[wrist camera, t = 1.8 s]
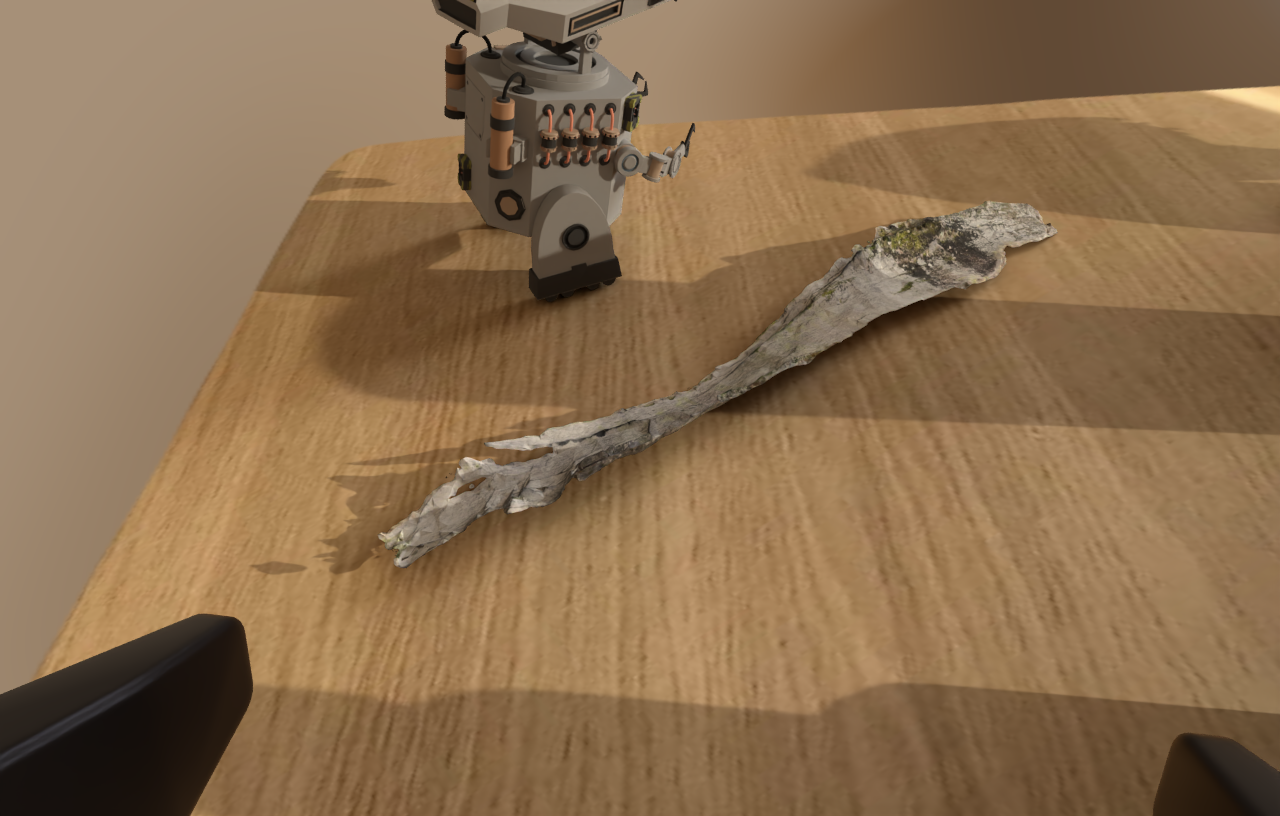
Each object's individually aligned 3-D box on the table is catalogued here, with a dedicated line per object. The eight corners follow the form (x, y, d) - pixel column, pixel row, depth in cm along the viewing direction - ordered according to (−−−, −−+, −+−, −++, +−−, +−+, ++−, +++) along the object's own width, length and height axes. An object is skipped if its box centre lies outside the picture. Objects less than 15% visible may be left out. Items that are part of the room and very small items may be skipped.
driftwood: (1083, 239, 45) (998, 210, 48) (1094, 192, 43) (1005, 165, 47) (425, 612, 29) (365, 529, 32) (406, 558, 27) (345, 478, 31)
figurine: (725, 255, 45) (739, -75, 34) (508, 317, 41) (452, -29, 31) (648, 178, 51) (640, -121, 41) (454, 226, 47) (393, -86, 37)
